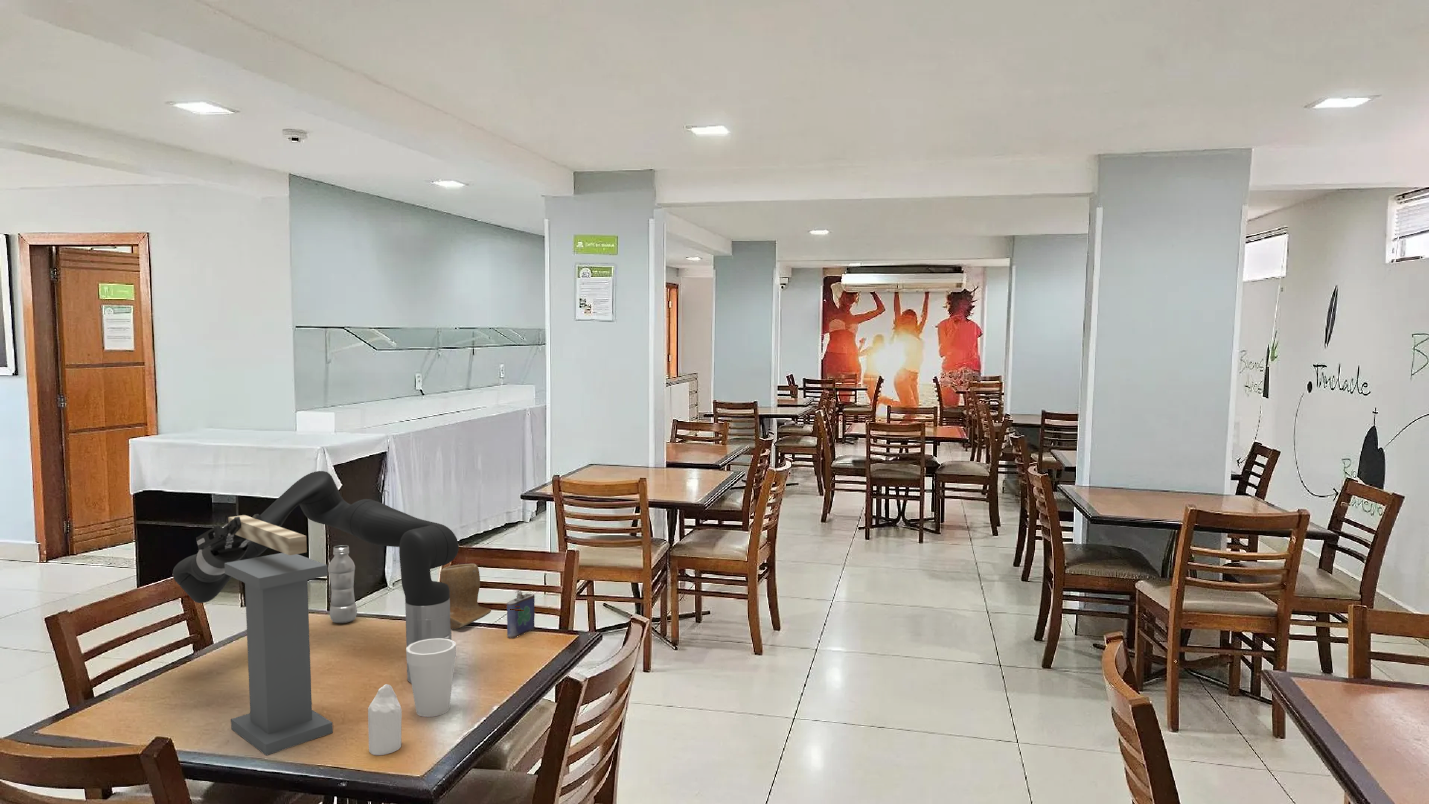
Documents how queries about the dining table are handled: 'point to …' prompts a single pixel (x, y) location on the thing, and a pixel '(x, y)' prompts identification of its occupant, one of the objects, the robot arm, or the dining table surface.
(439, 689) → the foam cup
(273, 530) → the light wooden bar
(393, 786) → the dining table surface
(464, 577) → the brown curved chair
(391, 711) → the white pointed cylinder
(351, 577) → the plastic bottle
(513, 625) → the flask
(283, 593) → the stand
